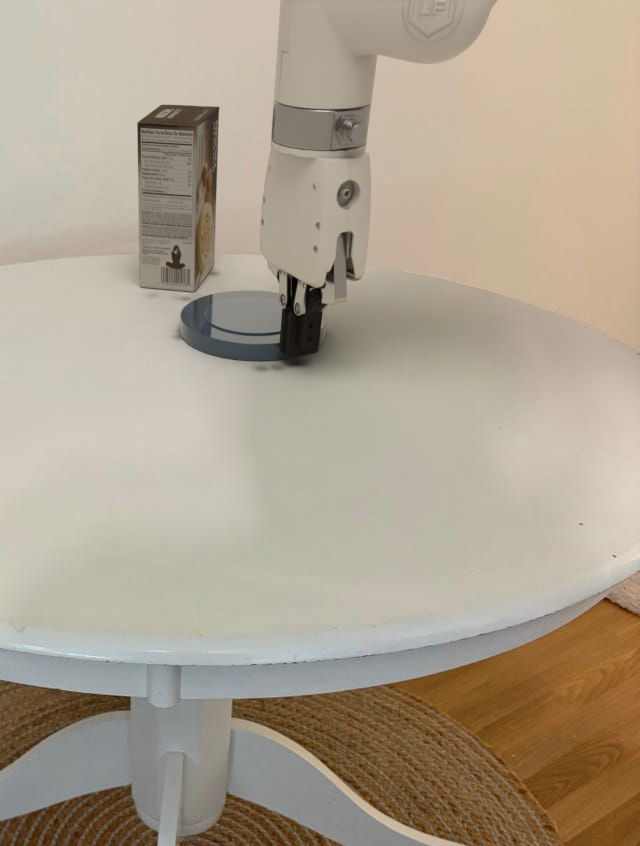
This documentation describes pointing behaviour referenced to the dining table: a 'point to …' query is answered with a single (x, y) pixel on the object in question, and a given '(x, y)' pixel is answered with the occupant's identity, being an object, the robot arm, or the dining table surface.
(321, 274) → the robot arm
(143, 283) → the coffee box
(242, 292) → the plate
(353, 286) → the dining table surface
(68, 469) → the dining table surface
